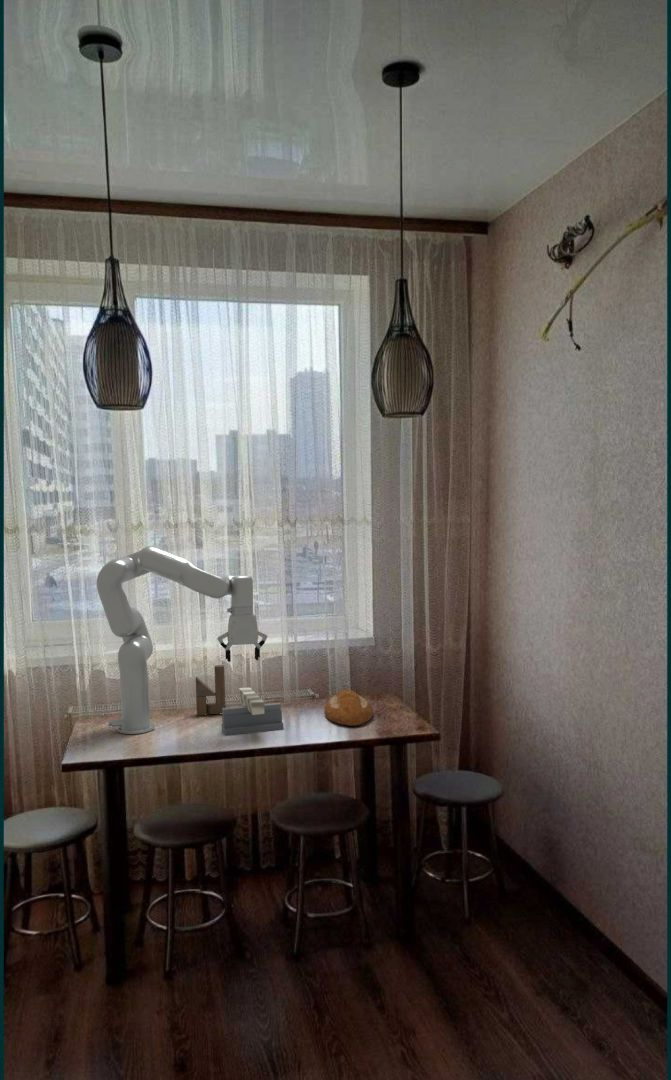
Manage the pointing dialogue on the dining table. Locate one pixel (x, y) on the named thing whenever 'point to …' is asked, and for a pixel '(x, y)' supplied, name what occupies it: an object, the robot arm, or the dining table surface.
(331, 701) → the bread
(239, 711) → the ridge block
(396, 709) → the dining table surface
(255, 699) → the birch bar
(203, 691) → the wooden block
